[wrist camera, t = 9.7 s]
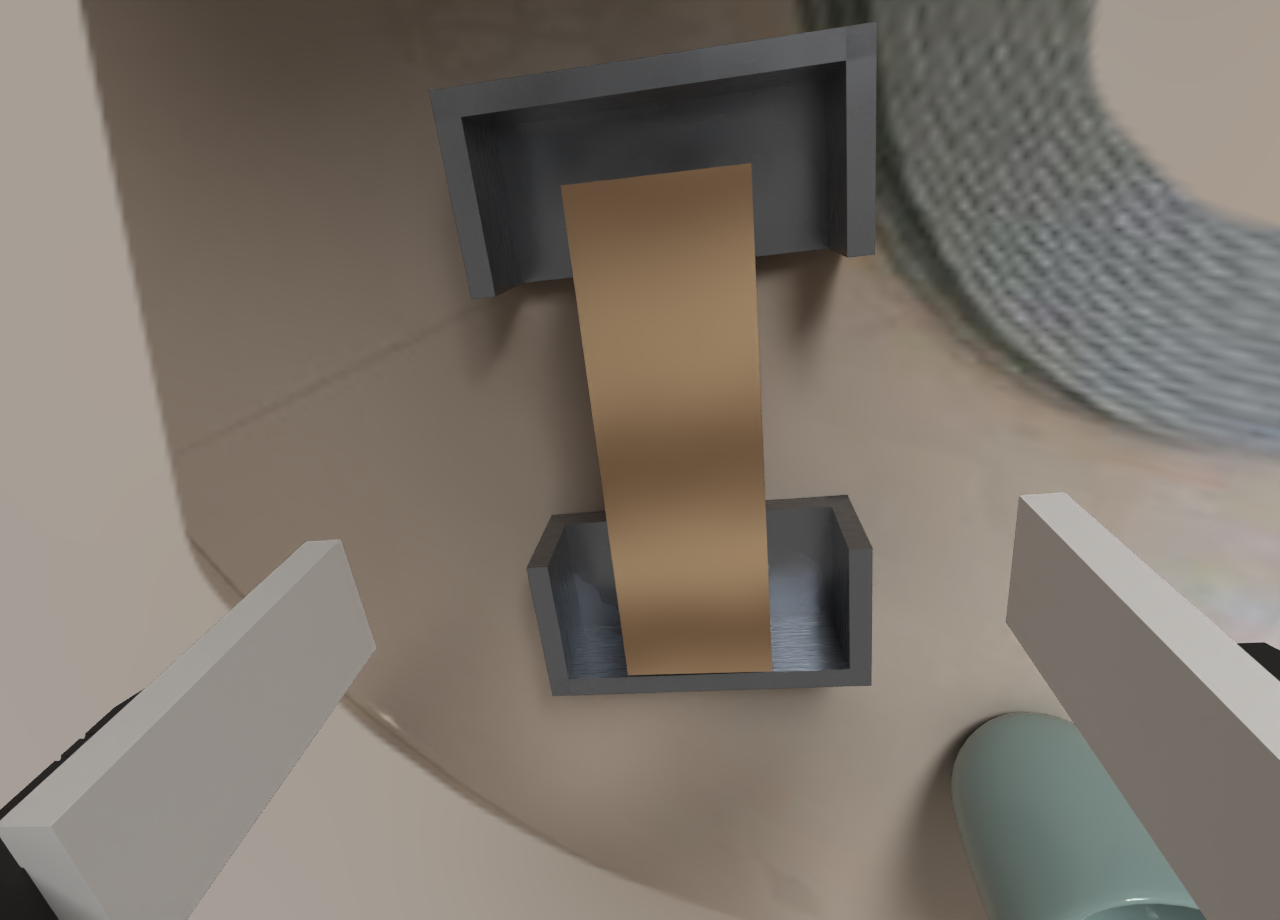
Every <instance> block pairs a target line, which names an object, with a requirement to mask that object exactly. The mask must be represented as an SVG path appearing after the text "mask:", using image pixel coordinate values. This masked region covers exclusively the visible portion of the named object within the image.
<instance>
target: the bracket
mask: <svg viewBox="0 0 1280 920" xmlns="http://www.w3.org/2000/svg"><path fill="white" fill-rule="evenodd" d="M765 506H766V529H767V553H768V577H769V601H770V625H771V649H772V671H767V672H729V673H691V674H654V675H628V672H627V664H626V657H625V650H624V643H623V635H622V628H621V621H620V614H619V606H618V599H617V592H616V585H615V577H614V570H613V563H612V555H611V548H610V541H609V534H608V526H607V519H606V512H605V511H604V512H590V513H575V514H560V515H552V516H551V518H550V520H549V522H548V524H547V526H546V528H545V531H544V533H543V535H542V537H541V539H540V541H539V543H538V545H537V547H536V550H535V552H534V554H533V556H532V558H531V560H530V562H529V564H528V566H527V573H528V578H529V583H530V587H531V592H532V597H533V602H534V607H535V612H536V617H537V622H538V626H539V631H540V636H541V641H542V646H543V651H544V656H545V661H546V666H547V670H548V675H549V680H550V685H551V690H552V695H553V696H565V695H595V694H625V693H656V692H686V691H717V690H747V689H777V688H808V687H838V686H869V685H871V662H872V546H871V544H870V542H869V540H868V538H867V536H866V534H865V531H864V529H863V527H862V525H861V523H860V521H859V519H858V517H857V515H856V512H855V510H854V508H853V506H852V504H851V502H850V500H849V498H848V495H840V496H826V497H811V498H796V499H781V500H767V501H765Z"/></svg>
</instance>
